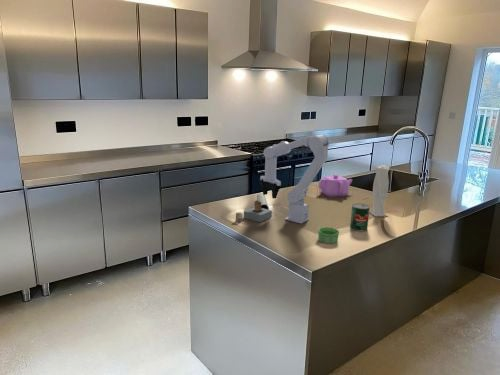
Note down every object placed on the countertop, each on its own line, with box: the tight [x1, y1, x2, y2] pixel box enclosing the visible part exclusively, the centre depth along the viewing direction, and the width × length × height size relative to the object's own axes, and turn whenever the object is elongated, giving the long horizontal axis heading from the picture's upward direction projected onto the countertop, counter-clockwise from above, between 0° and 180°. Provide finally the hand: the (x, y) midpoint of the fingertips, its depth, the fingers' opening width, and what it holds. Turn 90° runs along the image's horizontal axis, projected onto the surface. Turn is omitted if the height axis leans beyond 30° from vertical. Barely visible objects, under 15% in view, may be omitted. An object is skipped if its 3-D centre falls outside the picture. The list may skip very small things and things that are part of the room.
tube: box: [256, 192, 270, 210], centre depth 204 cm, size 5×5×25 cm
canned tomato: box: [349, 202, 371, 232], centre depth 174 cm, size 8×8×11 cm
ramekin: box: [317, 226, 340, 245], centre depth 160 cm, size 9×9×4 cm
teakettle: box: [318, 174, 353, 198], centre depth 231 cm, size 17×17×12 cm
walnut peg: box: [254, 200, 261, 213], centre depth 185 cm, size 3×3×8 cm
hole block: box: [243, 206, 273, 223], centre depth 186 cm, size 10×10×4 cm
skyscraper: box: [369, 163, 391, 218], centre depth 191 cm, size 8×8×28 cm
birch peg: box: [235, 211, 244, 223], centre depth 180 cm, size 3×3×4 cm
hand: (269, 196), depth 190 cm, fingers open, 7 cm apart
